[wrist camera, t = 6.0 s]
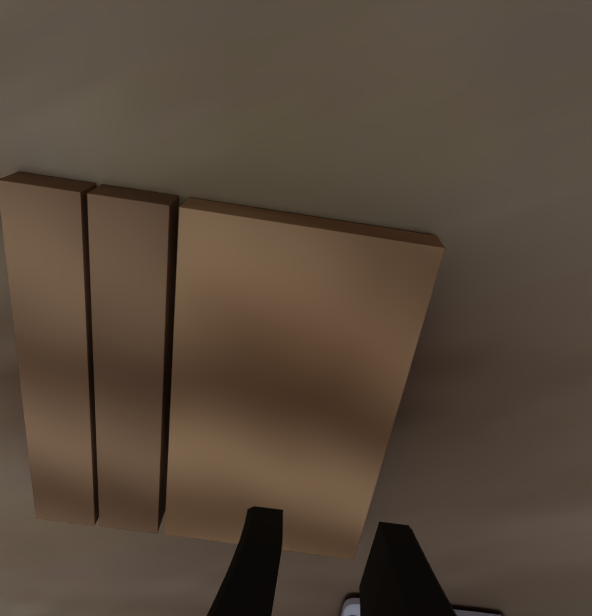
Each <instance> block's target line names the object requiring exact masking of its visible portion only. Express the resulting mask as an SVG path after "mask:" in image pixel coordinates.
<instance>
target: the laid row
mask: <svg viewBox="0 0 592 616" xmlns="http://www.w3.org/2000/svg"><path fill="white" fill-rule="evenodd" d="M178 198H179V196H177V195H170V194H163V193H157V192H150V191H143V190H137V189H130V188H123V187H117V186H110V185H103V184H102V185H100V186H99V187H97V188H96V183H90V182H84V181H77V180H70V179H64V178H57V177H50V176H44V175H37V174H30V173H24V172H16V173H14V174H11V175H8V176H6V177H3V178H1V179H0V211H1V219H2V228H3V237H4V245H5V254H6V263H7V271H8V280H9V289H10V297H11V306H12V315H13V323H14V332H15V340H16V349H17V358H18V366H19V375H20V384H21V392H22V401H23V410H24V418H25V427H26V436H27V444H28V453H29V462H30V470H31V479H32V488H33V496H34V505H35V514H36V519H43V520H51V521H59V522H67V523H76V524H84V525H92V526H95V524H96V522H97V520H98V517H99V525H100V526H101V527H109V528H117V529H125V530H134V531H142V532H150V533H158V530H159V527H160V524H161V521H162V518H163V515H164V511H165V496H166V473H167V450H168V427H169V404H170V381H171V358H172V335H173V313H174V290H175V267H176V244H177V221H178Z"/></svg>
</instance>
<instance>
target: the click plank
mask: <svg viewBox="0 0 592 616" xmlns="http://www.w3.org/2000/svg"><path fill="white" fill-rule="evenodd" d="M444 251H445V247H444V246H443V244H442V243H441V241H440V240H439V238H438V237H437V236H435V235H429V234H422V233H416V232H410V231H403V230H397V229H390V228H384V227H377V226H371V225H364V224H358V223H351V222H345V221H339V220H332V219H326V218H319V217H313V216H306V215H300V214H293V213H287V212H280V211H274V210H267V209H261V208H255V207H248V206H242V205H235V204H229V203H222V202H216V201H209V200H203V199H196V198H190V197H189V198H188V199H187V200H186V201H185V202H184V203H183V204H182V205H181V206H180V207H179V226H178V249H177V271H176V293H175V316H174V338H173V360H172V383H171V405H170V427H169V449H168V472H167V494H166V516H165V534H167V535H174V536H181V537H189V538H196V539H204V540H211V541H218V542H226V543H233V544H238V543H239V540H240V537H241V534H242V530H243V527H244V523H245V519H246V514H247V509H249V508H251V507H253V506H257V507H265V508H273V509H281V510H283V541H282V550H285V551H292V552H300V553H307V554H314V555H322V556H329V557H337V558H344V559H351V560H354V557H355V554H356V551H357V547H358V544H359V540H360V537H361V533H362V530H363V527H364V523H365V520H366V516H367V513H368V510H369V506H370V503H371V499H372V496H373V493H374V489H375V486H376V482H377V479H378V476H379V472H380V469H381V465H382V462H383V458H384V455H385V452H386V448H387V445H388V441H389V438H390V435H391V431H392V428H393V424H394V421H395V418H396V414H397V411H398V407H399V404H400V401H401V397H402V394H403V390H404V387H405V383H406V380H407V377H408V373H409V370H410V366H411V363H412V360H413V356H414V353H415V349H416V346H417V343H418V339H419V336H420V332H421V329H422V326H423V322H424V319H425V315H426V312H427V308H428V305H429V302H430V298H431V295H432V291H433V288H434V285H435V281H436V278H437V274H438V271H439V268H440V264H441V261H442V257H443V254H444Z"/></svg>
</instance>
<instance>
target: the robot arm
mask: <svg viewBox="0 0 592 616" xmlns="http://www.w3.org/2000/svg"><path fill="white" fill-rule="evenodd" d="M282 541H283V510H281V509H273V508H265V507H257V506H253V507H251V508H249V509H247V514H246V519H245V523H244V527H243V530H242V534H241V537H240V540H239V543H238V546H237V548H236V551H235V554H234V556H233V559H232V561H231V564H230V566H229V569H228V571H227V573H226V576H225V578H224V580H223V582H222V584H221V587H220V589H219V591H218V593H217V595H216V598H215V600H214V602H213V604H212V606H211V608H210V610H209V612H208V614H207V616H271V614H272V607H273V601H274V594H275V588H276V582H277V575H278V569H279V563H280V556H281V550H282ZM359 589H360V598H350V599H348V600H346V601H345V603H344V605H343V608H342V612H341V615H340V616H502V615H499V614H490V613H482V612H473V611H465V610H456V609H453V608H452V606H451V604H450V602H449V601H448V599H447V597H446V595H445V593H444V591H443V590H442V588H441V586H440V584H439V582H438V580H437V578H436V576H435V574H434V573H433V571H432V569H431V567H430V565H429V563H428V561H427V559H426V557H425V555H424V553H423V551H422V549H421V547H420V545H419V543H418V541H417V539H416V537H415V535H414V533H413V531H412V529H411V528H410V527H409V525H401V524H393V523H385V522H379V525H378V528H377V531H376V534H375V538H374V541H373V544H372V547H371V551H370V554H369V557H368V560H367V564H366V567H365V570H364V573H363V577H362V580H361V583H360V587H359Z"/></svg>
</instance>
